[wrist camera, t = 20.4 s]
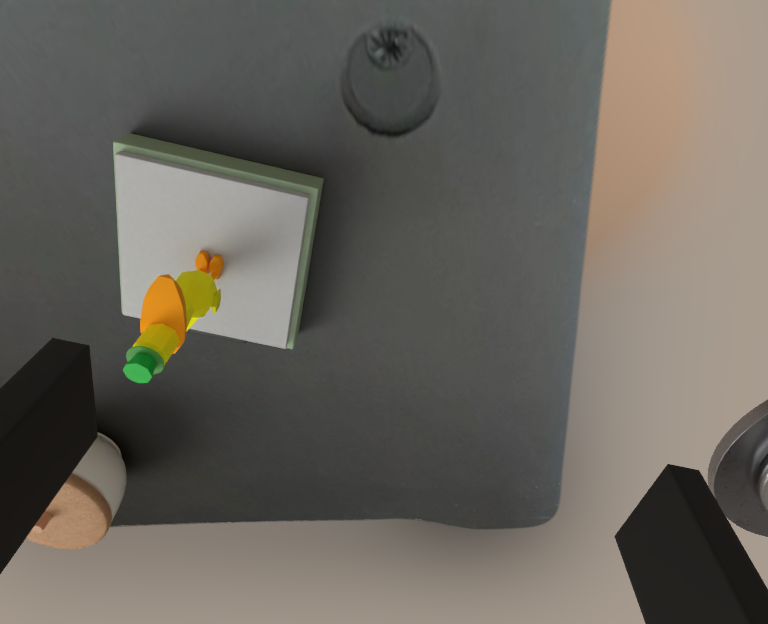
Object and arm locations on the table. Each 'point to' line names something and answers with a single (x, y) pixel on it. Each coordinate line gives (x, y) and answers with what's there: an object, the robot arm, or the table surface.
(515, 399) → the table surface
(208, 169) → the kitchen scale
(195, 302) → the toy figure
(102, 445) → the trinket box
